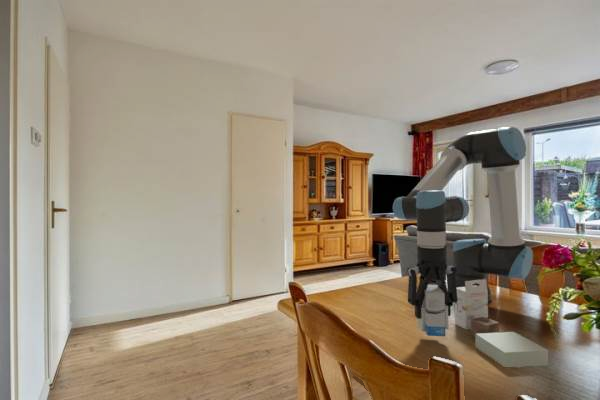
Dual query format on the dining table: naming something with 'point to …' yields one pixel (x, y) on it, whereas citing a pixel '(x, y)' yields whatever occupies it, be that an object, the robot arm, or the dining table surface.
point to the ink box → (434, 311)
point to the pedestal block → (511, 349)
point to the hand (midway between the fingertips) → (433, 328)
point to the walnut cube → (483, 326)
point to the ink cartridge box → (471, 303)
